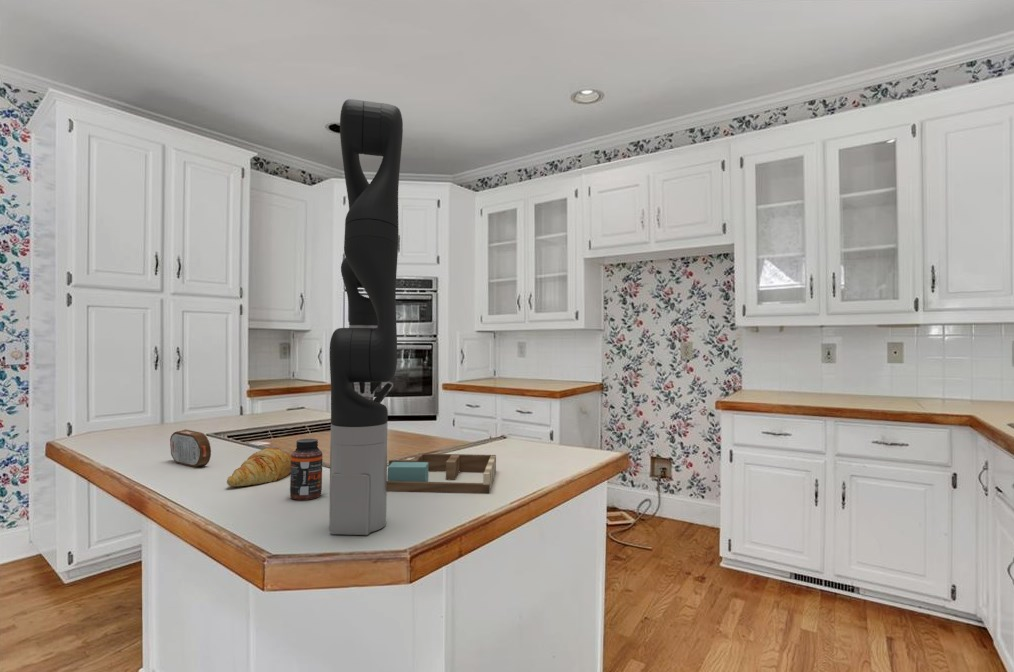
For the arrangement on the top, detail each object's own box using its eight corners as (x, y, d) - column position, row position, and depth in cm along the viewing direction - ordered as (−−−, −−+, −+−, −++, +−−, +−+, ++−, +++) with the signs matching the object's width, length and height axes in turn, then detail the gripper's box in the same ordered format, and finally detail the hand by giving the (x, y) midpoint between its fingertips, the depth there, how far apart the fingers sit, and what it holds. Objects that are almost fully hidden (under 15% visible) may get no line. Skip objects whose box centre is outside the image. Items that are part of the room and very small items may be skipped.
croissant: (239, 508, 109) (254, 475, 108) (204, 482, 112) (219, 449, 111) (305, 481, 130) (318, 453, 129) (274, 459, 132) (287, 431, 131)
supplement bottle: (311, 502, 102) (312, 443, 102) (283, 500, 103) (284, 441, 104) (327, 493, 108) (328, 438, 108) (301, 491, 109) (302, 436, 110)
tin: (211, 467, 130) (212, 433, 130) (198, 470, 128) (199, 434, 128) (180, 460, 138) (180, 427, 138) (167, 462, 136) (167, 429, 136)
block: (424, 488, 113) (425, 467, 113) (387, 488, 113) (387, 467, 113) (428, 482, 118) (428, 462, 118) (392, 482, 118) (392, 462, 118)
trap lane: (489, 493, 109) (489, 473, 109) (375, 490, 110) (375, 471, 111) (495, 471, 128) (496, 454, 128) (398, 469, 130) (398, 453, 130)
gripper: (329, 346, 113) (328, 427, 113) (390, 346, 113) (389, 428, 113) (342, 345, 121) (341, 421, 121) (399, 346, 120) (398, 422, 120)
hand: (364, 424), depth 117 cm, fingers closed
